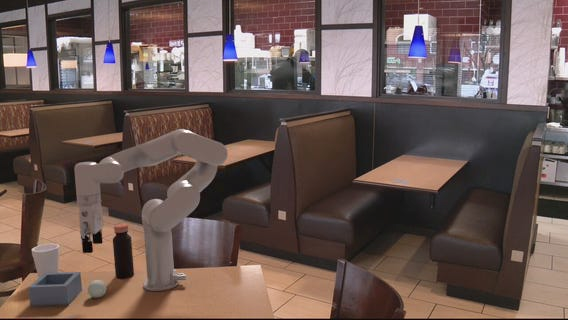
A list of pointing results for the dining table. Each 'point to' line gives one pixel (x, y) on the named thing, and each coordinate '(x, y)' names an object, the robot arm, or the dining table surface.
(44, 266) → the foam cup
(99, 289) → the ball
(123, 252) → the bottle
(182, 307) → the dining table surface
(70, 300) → the blue-grey open box
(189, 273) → the dining table surface
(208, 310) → the dining table surface
